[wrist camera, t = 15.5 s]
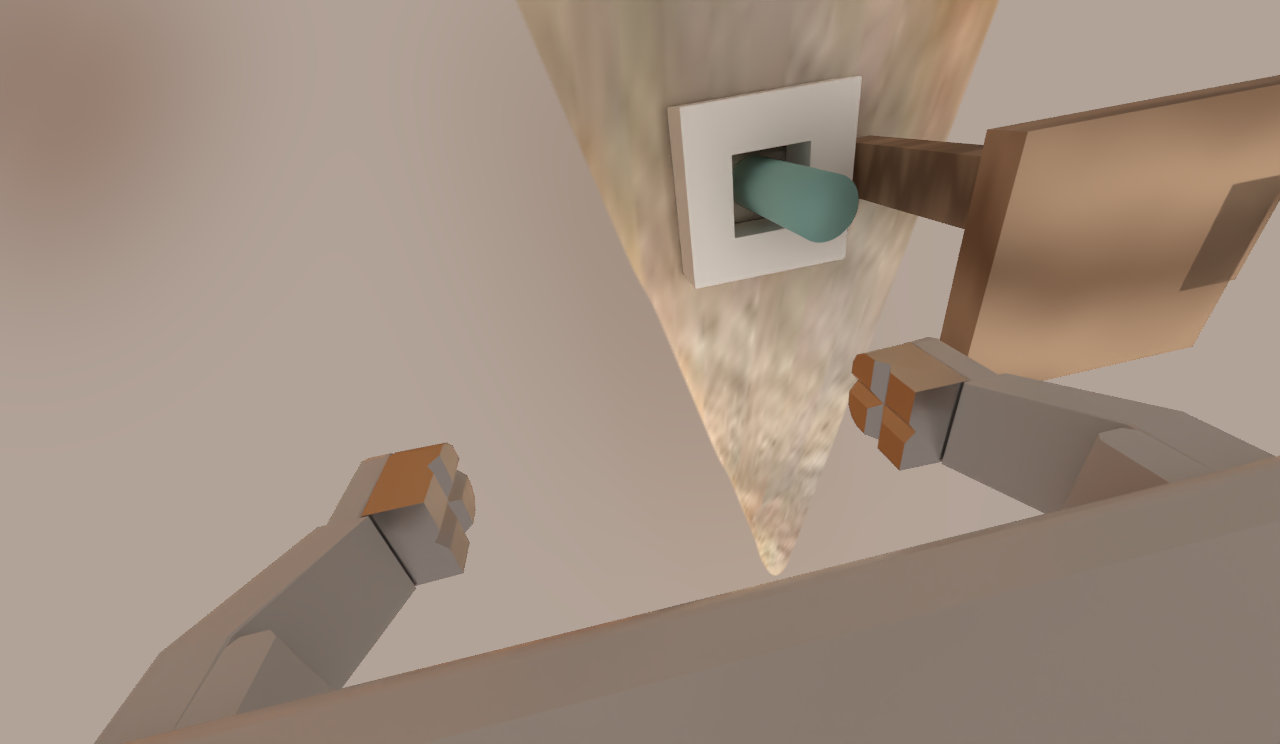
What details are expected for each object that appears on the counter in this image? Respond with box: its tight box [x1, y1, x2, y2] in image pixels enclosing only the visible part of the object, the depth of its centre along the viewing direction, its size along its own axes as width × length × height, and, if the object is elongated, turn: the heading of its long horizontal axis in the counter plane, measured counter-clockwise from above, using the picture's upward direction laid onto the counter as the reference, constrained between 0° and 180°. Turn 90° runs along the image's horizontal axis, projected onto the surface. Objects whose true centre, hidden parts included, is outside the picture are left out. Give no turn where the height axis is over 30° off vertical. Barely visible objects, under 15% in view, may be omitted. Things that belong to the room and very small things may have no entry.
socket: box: [667, 76, 862, 289], centre depth 36 cm, size 13×13×4 cm
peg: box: [732, 155, 859, 243], centre depth 32 cm, size 4×4×12 cm
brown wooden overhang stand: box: [852, 75, 1280, 381], centre depth 27 cm, size 10×11×25 cm
